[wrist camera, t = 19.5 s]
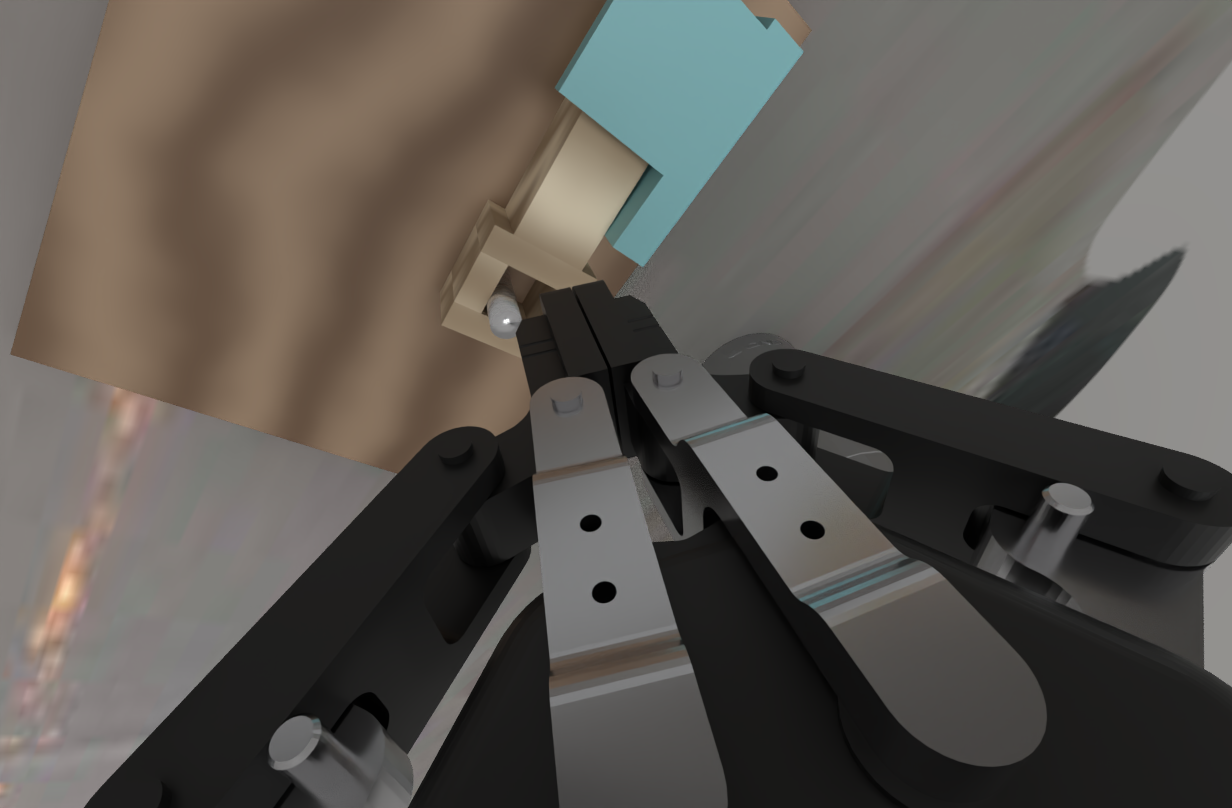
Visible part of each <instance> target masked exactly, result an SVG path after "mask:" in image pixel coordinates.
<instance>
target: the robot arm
mask: <svg viewBox="0 0 1232 808" xmlns="http://www.w3.org/2000/svg"><path fill="white" fill-rule="evenodd" d="M539 298H540V303H541V308H542V312H543V315H541V316H536V317H532V318H528V319H523V320H522V321H521V323H520V325H519V327H518V329H517V331H516V337H517V341H518V345H519V349H520V353H521V358H522V362H523V366H524V370H525V374H526V378H527V382H528V386H529V390H530V394H531V400H530V410H529V411H528V413H527V415H526V416H525V417H524V418H523V419H522V420H521V421H520V422H519V423H518V424H517V425H515V426H514V427H512V428H510V429H509V430H507V431H505V432H503V433H501V434H499V435H497V436H494V434H493V433H491V432H490V431H489V430H487V429H484V428H481V427H476V426H465V427H458V428H454V429H451V430H448V431H445V432H443V433H441V434H439V435H437V436H436V437H434V438H433V439H431V440H430V441H429V442H428V443H427V444H425V445H424V446H423V448H422V449H421V450H420V451H419V452H418V453H417V454H416V455H415V456H414V457H413V458H412V459H411V460H410V461H409V462H408V463H407V464H406V465H405V467H404V468H403V469H402V470H401V471H400V472H399V473H398V474H397V475H396V476H395V477H394V478H393V479H392V480H391V481H390V482H389V483H388V484H387V486H386V487H385V488H384V489H383V490H382V491H381V492H380V493H379V494H378V495H377V496H376V497H375V498H374V499H373V500H372V501H371V502H370V503H369V505H368V506H367V507H366V508H365V509H364V510H363V511H362V512H361V513H360V514H359V515H358V516H357V517H356V518H355V519H354V520H353V521H352V522H351V524H350V525H349V526H348V527H347V528H346V529H345V530H344V531H343V532H342V533H341V534H340V535H339V536H338V537H337V538H336V539H335V540H334V541H333V543H332V544H331V545H330V546H329V547H328V548H327V549H326V550H325V551H324V552H323V553H322V554H321V555H320V556H319V557H318V558H317V559H316V560H315V562H314V563H313V564H312V565H311V566H310V567H309V568H308V569H307V570H306V571H305V572H304V573H303V574H302V575H301V576H300V577H299V578H298V579H297V580H296V582H295V583H294V584H293V585H292V586H291V587H290V588H289V589H288V590H287V591H286V592H285V593H284V594H283V595H282V596H281V597H280V598H279V599H278V601H277V602H276V603H275V604H274V605H273V606H272V607H271V608H270V609H269V610H268V611H267V612H266V613H265V614H264V615H263V616H262V617H261V618H260V620H259V621H258V622H257V623H256V624H255V625H254V626H253V627H252V628H251V629H250V630H249V631H248V632H247V633H246V634H245V635H244V636H243V637H242V639H241V640H240V641H239V642H238V643H237V644H236V645H235V646H234V647H233V648H232V649H231V650H230V651H229V652H228V653H227V654H226V655H225V656H224V658H223V659H222V660H221V661H220V662H219V663H218V664H217V665H216V666H215V667H214V668H213V669H212V670H211V671H210V672H209V673H208V674H207V675H206V677H205V678H204V679H203V680H202V681H201V682H200V683H199V684H198V685H197V686H196V687H195V688H194V689H193V690H192V691H191V692H190V693H189V694H188V696H187V697H186V698H185V699H184V700H183V701H182V702H181V703H180V704H179V705H178V706H177V707H176V708H175V709H174V710H173V711H172V712H171V713H170V715H169V716H168V717H167V718H166V719H165V720H164V721H163V722H162V723H161V724H160V725H159V726H158V727H157V728H156V729H155V730H154V731H153V732H152V734H151V735H150V736H149V737H148V738H147V739H146V740H145V741H144V742H143V743H142V744H141V745H140V746H139V747H138V748H137V749H136V750H135V751H134V752H133V754H132V755H131V756H130V757H129V758H128V759H127V760H126V761H125V762H124V763H123V764H122V765H121V766H120V767H119V768H118V769H117V770H116V771H115V773H114V774H113V775H112V776H111V777H110V778H109V779H108V780H107V781H106V782H105V783H104V784H103V785H102V786H101V787H100V789H99V790H98V791H97V792H96V793H95V794H94V795H93V797H92V798H91V799H90V800H89V802H88V803H87V804H86V806H85V807H84V808H1232V687H1231V686H1229V685H1227V684H1226V683H1225V682H1223V681H1222V680H1220V679H1219V678H1218V677H1216V676H1215V675H1213V674H1212V673H1210V672H1208V671H1206V670H1205V669H1204V620H1203V619H1204V613H1203V612H1204V606H1203V574H1204V573H1205V572H1206V570H1207V569H1208V568H1209V567H1210V566H1211V565H1212V564H1213V563H1214V562H1215V560H1216V559H1217V558H1218V557H1219V556H1220V555H1221V554H1222V553H1223V552H1224V551H1225V550H1226V549H1227V547H1228V546H1229V545H1230V544H1231V543H1232V474H1231V473H1230V472H1228V471H1227V470H1225V469H1223V468H1221V467H1219V466H1217V465H1215V464H1213V463H1211V462H1209V461H1207V460H1204V459H1201V458H1199V457H1196V456H1193V455H1190V454H1186V453H1182V452H1179V451H1175V450H1171V449H1167V448H1164V447H1160V446H1156V445H1153V444H1149V443H1145V442H1141V441H1138V440H1134V439H1130V438H1127V437H1123V436H1119V435H1115V434H1111V433H1108V432H1104V431H1100V430H1097V429H1093V428H1089V427H1085V426H1082V425H1078V424H1074V423H1071V422H1067V421H1063V420H1059V419H1056V418H1052V417H1048V416H1044V415H1041V414H1037V413H1033V412H1029V411H1026V410H1022V409H1018V408H1014V407H1011V406H1007V405H1003V404H1000V403H996V402H992V401H988V400H985V399H981V398H977V397H973V396H970V395H966V394H962V393H958V392H955V391H951V390H947V389H944V388H940V387H936V386H932V385H929V384H925V383H921V382H917V381H914V380H910V379H906V378H902V377H899V376H895V375H891V374H888V373H884V372H880V371H876V370H873V369H869V368H865V367H861V366H858V365H854V364H850V363H846V362H843V361H839V360H835V359H832V358H828V357H824V356H820V355H817V354H813V353H809V352H805V351H801V350H796V349H795V348H794V347H793V346H792V345H791V344H790V343H789V342H787V341H786V340H784V339H783V338H781V337H779V336H776V335H772V334H764V333H757V334H750V335H745V336H742V337H739V338H736V339H734V340H732V341H730V342H728V343H727V344H725V345H723V346H722V347H720V348H719V349H718V350H716V351H715V352H714V353H712V354H711V355H710V356H709V358H708V359H707V360H706V361H705V362H704V363H703V364H702V365H701V364H700V363H699V362H698V361H697V360H695V359H693V358H691V357H689V356H686V355H681V354H678V352H677V351H676V349H675V348H674V346H673V345H672V343H671V342H670V340H669V339H668V337H667V336H666V334H665V333H664V331H663V330H662V328H661V327H659V324H658V322H657V321H656V319H655V318H654V317H653V315H652V313H651V312H650V310H649V309H648V307H647V306H646V304H645V303H643V302H641V301H640V300H638V299H636V298H634V297H632V296H630V295H629V296H624V297H620V298H615V299H614V297H613V295H612V294H611V292H610V290H609V289H608V287H607V285H606V283H605V282H604V280H599V281H595V282H590V283H585V284H581V285H576V286H572V290H571V288H570V287H568V288H563V289H559V290H554V291H550V292H545V293H541V294H539ZM635 456H637V457H638V459H639V461H640V464H641V471H642V480H643V484H644V487H645V489H646V490H647V492H648V494H649V496H650V498H651V500H652V501H653V503H654V505H655V507H656V509H657V511H658V512H659V514H660V516H661V518H662V520H663V522H664V523H665V525H666V527H667V529H668V531H669V533H670V535H671V536H672V538H673V540H674V541H665V542H652V541H651V537H650V534H649V530H648V527H647V524H646V520H645V517H644V514H643V510H642V507H641V503H640V500H639V497H638V493H637V490H636V486H635V483H634V480H633V476H632V473H631V470H630V466H629V463H628V460H627V458H631V457H635ZM536 542H538V543H539V553H540V563H541V574H542V584H543V593H542V594H540V595H539V596H538V597H536V598H535V599H534V600H533V601H532V602H531V603H530V604H529V605H527V606H526V607H525V608H524V610H523V611H522V612H521V613H520V614H519V615H518V616H517V617H516V618H515V620H514V621H513V622H512V624H511V625H510V626H509V628H508V629H507V630H506V632H505V633H504V635H503V636H502V638H501V640H500V641H499V643H498V645H497V646H496V648H495V650H494V652H493V654H492V655H491V657H490V659H489V661H488V663H487V665H486V666H485V668H484V670H483V672H482V674H481V676H480V677H479V679H478V681H477V683H476V685H475V686H474V688H473V690H472V692H471V694H470V696H469V697H468V699H467V701H466V703H465V705H464V706H463V708H462V710H461V712H460V714H459V716H458V717H457V719H456V721H455V723H454V725H453V727H452V728H451V730H450V732H449V734H448V736H447V737H446V739H445V741H444V743H443V745H442V747H441V748H440V750H439V752H438V754H437V756H436V757H435V759H434V761H433V763H432V765H431V767H430V768H429V770H428V772H427V774H426V776H425V777H424V779H423V781H422V783H421V785H420V786H419V788H418V790H417V792H416V794H415V796H414V797H413V799H412V801H411V803H410V805H409V802H410V799H411V795H412V790H413V769H412V765H411V762H410V759H409V758H408V756H407V754H408V753H409V751H410V749H411V748H412V746H413V745H414V743H415V741H416V740H417V738H418V737H419V735H420V733H421V732H422V730H423V729H424V727H425V725H426V724H427V722H428V721H429V719H430V717H431V716H432V714H433V713H434V711H435V709H436V708H437V706H438V705H439V703H440V701H441V700H442V698H443V696H444V695H445V693H446V692H447V690H448V688H449V687H450V685H451V684H452V682H453V680H454V679H455V677H456V676H457V674H458V672H459V671H460V669H461V668H462V666H463V664H464V663H465V661H466V660H467V658H468V656H469V655H470V653H471V651H472V650H473V648H474V647H475V645H476V643H477V642H478V640H479V639H480V637H481V635H482V634H483V632H484V631H485V629H486V627H487V626H488V624H489V623H490V621H491V619H492V618H493V616H494V615H495V613H496V611H497V610H498V608H499V606H500V605H501V603H502V602H503V600H504V598H505V597H506V595H507V594H508V592H509V590H510V589H511V587H512V586H513V584H514V582H515V581H516V579H517V578H518V576H519V574H520V573H521V571H522V570H523V568H524V566H525V565H526V563H527V561H528V559H529V557H530V553H531V545H533V544H535V543H536ZM408 805H409V806H408Z"/></svg>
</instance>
